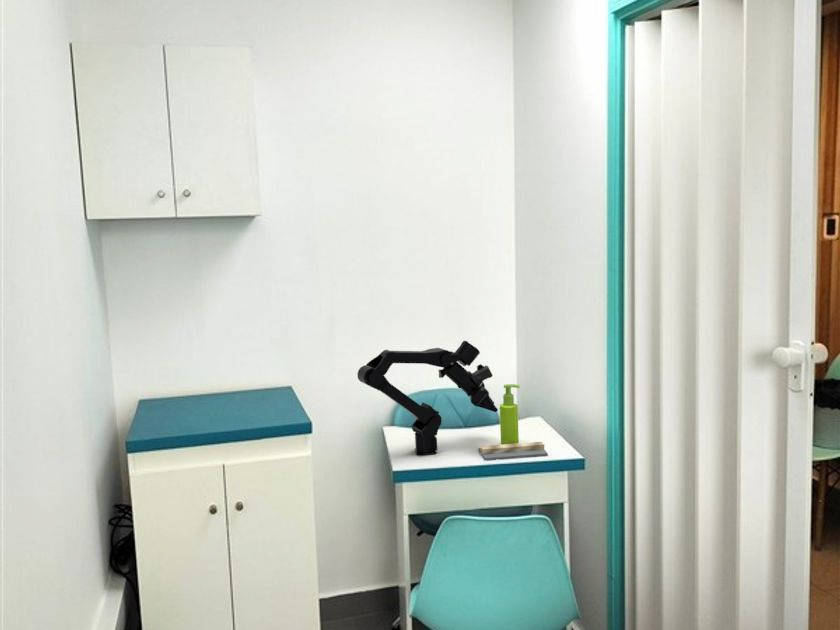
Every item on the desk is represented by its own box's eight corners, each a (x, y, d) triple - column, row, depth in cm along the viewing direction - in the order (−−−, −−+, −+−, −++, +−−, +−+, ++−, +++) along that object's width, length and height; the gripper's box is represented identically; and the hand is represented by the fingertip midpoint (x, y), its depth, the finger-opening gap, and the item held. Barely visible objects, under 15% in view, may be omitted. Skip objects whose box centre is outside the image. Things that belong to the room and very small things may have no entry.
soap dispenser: (521, 446, 248) (519, 386, 246) (500, 446, 249) (498, 386, 247) (522, 441, 254) (520, 382, 251) (501, 441, 255) (499, 382, 253)
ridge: (482, 454, 239) (482, 449, 238) (480, 451, 242) (480, 446, 242) (544, 449, 241) (544, 444, 240) (541, 446, 244) (541, 441, 244)
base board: (484, 460, 235) (484, 458, 235) (478, 450, 246) (478, 447, 246) (547, 455, 237) (547, 453, 237) (538, 445, 248) (538, 443, 248)
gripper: (480, 363, 239) (516, 396, 240) (474, 353, 257) (507, 383, 259) (456, 389, 239) (492, 421, 241) (452, 377, 258) (485, 407, 260)
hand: (495, 407), depth 250 cm, fingers open, 9 cm apart
